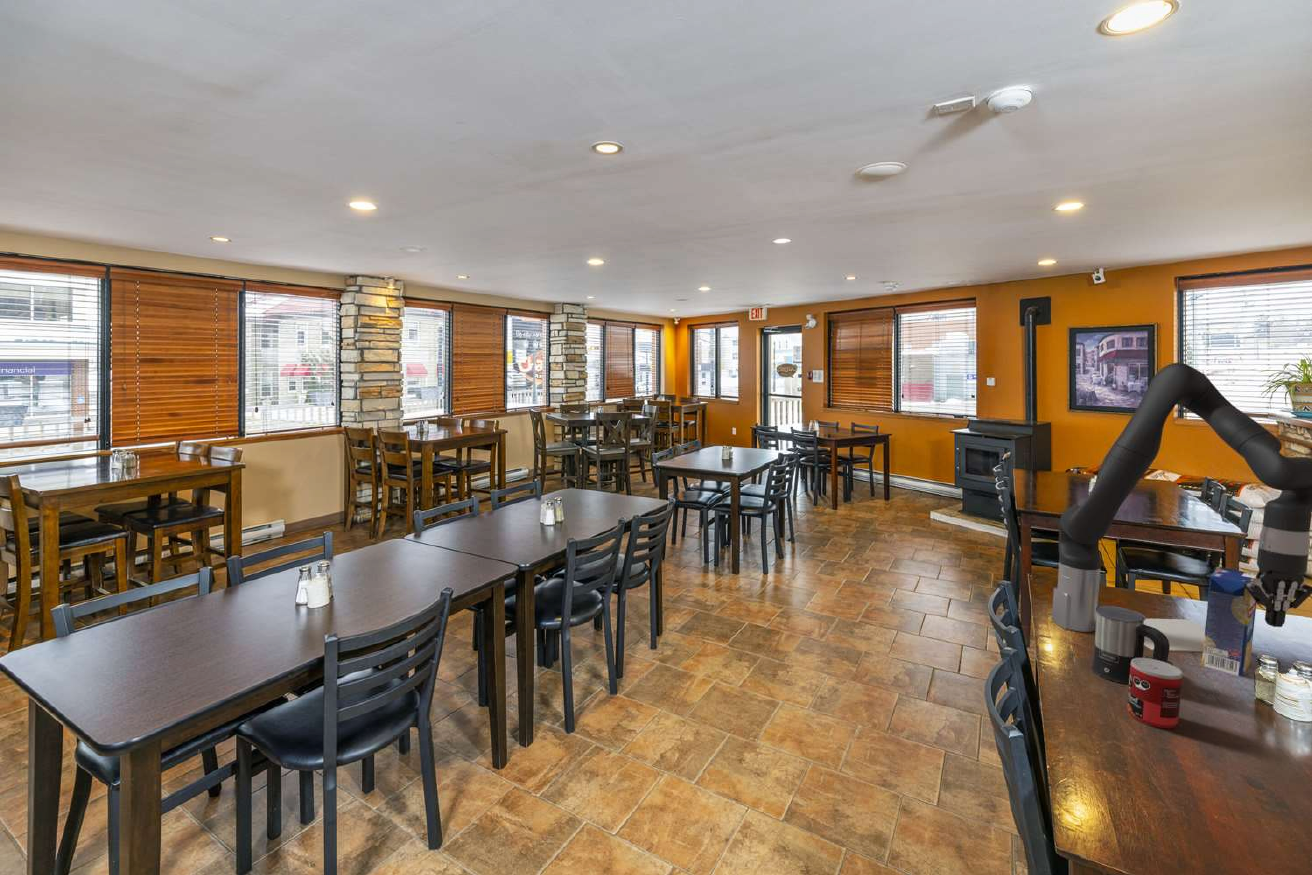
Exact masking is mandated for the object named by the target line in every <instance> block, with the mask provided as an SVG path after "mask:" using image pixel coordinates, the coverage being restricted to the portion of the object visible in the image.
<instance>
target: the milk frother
mask: <svg viewBox="0 0 1312 875" xmlns="http://www.w3.org/2000/svg"><path fill="white" fill-rule="evenodd" d="M1095 611H1096V612H1097V617H1096V629H1095V634H1094V638H1095V639H1094V652H1093V662H1092V665H1091V671H1092V672H1093V673H1095V674H1096V675H1097V676H1099V677H1102V678H1104V679H1107V680H1109V681H1113V682H1116V683H1123V684H1129V677H1130V666H1131V660H1132V659H1134V658H1149V659H1155V660H1159V661H1162V662H1165V663H1168V664H1171V665H1173V666H1174V664H1173V662H1171V661H1170V660H1168V658H1169V653H1170V651H1169V647H1170V646H1169V641H1168V639H1167V637H1166V636H1165V635H1164V634H1163V633H1162V632H1161V631H1159V630H1158V629H1156V628H1153V627H1150V626H1147V625H1144V620H1146V619H1147V618H1146V616H1145V615H1144V614H1142V613H1140V612H1138V611H1136V610H1132V609H1129V608H1125V607H1120V606H1113V605H1112V606H1110V605H1102V606H1101V605H1100V606H1097V607H1096V609H1095ZM1144 637H1148V638H1150V639H1151V640H1152V641H1153V643H1154V650H1153V654H1152V657H1148V656H1147V655H1145V656H1144V648H1145V645H1144Z"/></svg>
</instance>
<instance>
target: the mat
mask: <svg viewBox="0 0 1312 875" xmlns="http://www.w3.org/2000/svg"><path fill="white" fill-rule="evenodd" d="M1144 625H1147V626H1150V627H1153V628H1156V629H1158V630H1159V631H1161V632H1162V633H1163V634H1164V635H1165V636H1166V637H1167V639H1168V641H1169V646H1170V647H1169V652H1191V653H1192V652H1196V653H1198V652H1199V653H1200V652H1201V653H1203V647H1204V637H1205V627H1204V626H1203V625H1200V624H1198V623H1196V622H1194V621H1192V620H1190V619H1186V618H1185V619H1180V618H1177V619H1176V618H1174V619H1173V618H1146V620H1144ZM1144 647H1146V648H1148V649H1150V650H1151V651H1154V643H1153V641H1152V640H1151V639H1150V638H1148V637H1144ZM1254 653H1255V652H1254V651H1253V650H1252V651H1251V654H1254Z"/></svg>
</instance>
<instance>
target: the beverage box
mask: <svg viewBox="0 0 1312 875" xmlns="http://www.w3.org/2000/svg"><path fill="white" fill-rule="evenodd" d="M1256 575H1257V573H1254V572H1253V573H1252V572H1248V571H1244V570H1243V571H1242V570H1236V569H1232V568H1226V567H1222V566H1221V567H1219V568H1218V569H1217V570H1215V572H1213V573H1212V574H1211V575H1210V576H1209V585H1208V586H1209V587H1208V596H1207V607H1206V618H1205V627H1204V628H1205V637H1204V647H1203V652H1202V657H1201V658H1202V660H1201V666H1203V667H1206V668H1209V669H1212V670H1217V671H1220V672H1223V673H1227V674H1230V675H1233V676H1237V677H1242V676H1243V675H1244V673H1245V672H1246V670H1247V669H1248V667H1249V666H1250V664H1251V660H1252V658H1251V657H1252V653H1251V651H1253V639H1254V630H1255V621H1256V612H1257V611H1256V610H1257V603H1256V601H1255V600H1254V599H1253V597H1252V596H1251V595H1250V593H1249V592H1248V590H1247V589H1246V588H1245V586H1244V582H1252V581H1254V580H1255V579H1256Z"/></svg>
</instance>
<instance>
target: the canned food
mask: <svg viewBox="0 0 1312 875" xmlns="http://www.w3.org/2000/svg"><path fill="white" fill-rule="evenodd" d="M1149 658H1150V657H1148V658H1144V657H1143V658H1134V659H1132V660H1131V666H1130V677H1129V683H1128V688H1127V689H1128V690H1127V705H1126V709H1127V712H1128V714H1129V715H1130V716H1131V717H1132V716H1133V717H1134V718H1133V717H1132V718H1133V719H1135V720H1136V719H1137V720H1136V721H1138V720H1139V722H1140V721H1141V722H1140V723H1142V722H1143V724H1144V723H1147V724H1150V725H1152V726H1151V727H1153V726H1155V728H1158V727H1159V728H1158V729H1164V728H1169V730H1170V729H1174V728H1176V727H1177V726H1178V723H1179V719H1180V718H1179V717H1180V706H1181V696H1182V687H1183V686H1182V685H1183V671H1182V670H1181V669H1180V668H1178V667H1177V666H1175V665H1174V664H1173V665H1171V664H1168V663H1165V662H1162V661H1159V660H1155V659H1149ZM1147 724H1146V725H1147ZM1150 725H1149V726H1150Z"/></svg>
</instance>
